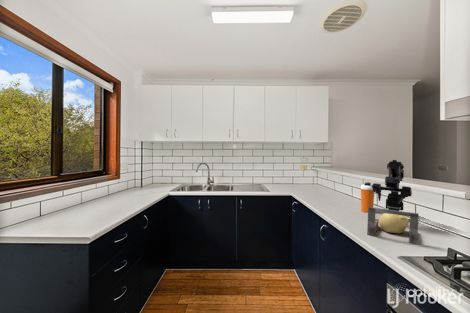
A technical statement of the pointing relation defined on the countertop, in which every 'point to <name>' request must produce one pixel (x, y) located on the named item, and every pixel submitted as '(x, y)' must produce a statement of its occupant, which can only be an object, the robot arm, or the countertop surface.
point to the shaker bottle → (366, 196)
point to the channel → (413, 216)
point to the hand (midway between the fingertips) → (388, 202)
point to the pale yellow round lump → (393, 223)
